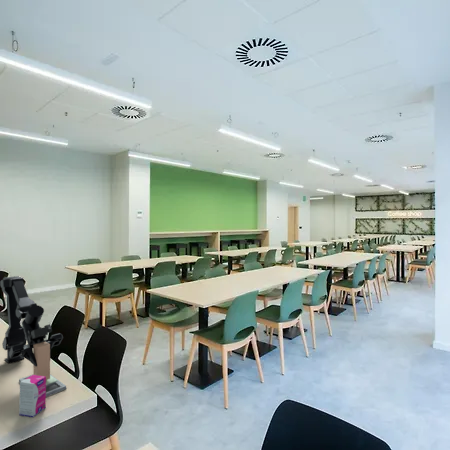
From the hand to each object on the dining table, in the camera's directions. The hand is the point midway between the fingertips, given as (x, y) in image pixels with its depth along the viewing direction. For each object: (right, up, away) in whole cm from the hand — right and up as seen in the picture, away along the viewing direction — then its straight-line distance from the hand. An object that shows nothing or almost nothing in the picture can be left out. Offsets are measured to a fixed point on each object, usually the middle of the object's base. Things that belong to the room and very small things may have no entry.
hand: (43, 363), depth 126 cm
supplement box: (+6, -9, -17) cm, 20 cm away
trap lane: (-1, -9, +1) cm, 9 cm away
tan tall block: (-1, -7, +1) cm, 7 cm away
